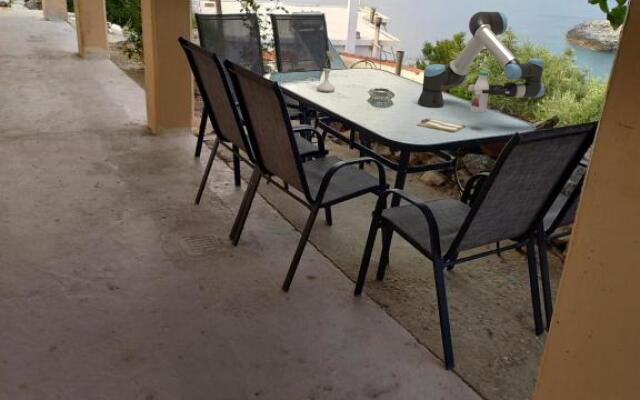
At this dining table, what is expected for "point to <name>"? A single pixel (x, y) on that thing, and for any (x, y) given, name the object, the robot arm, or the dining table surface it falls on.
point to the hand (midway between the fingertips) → (472, 89)
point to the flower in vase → (326, 85)
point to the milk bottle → (480, 99)
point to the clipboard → (441, 125)
